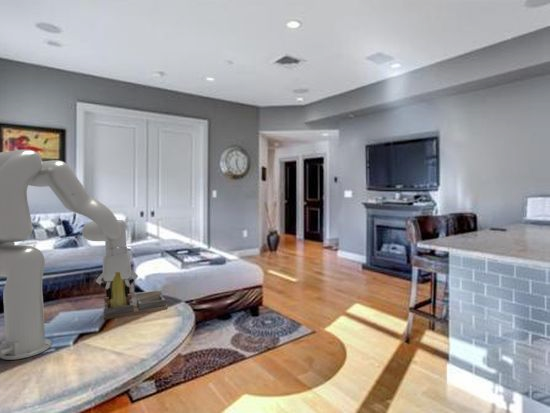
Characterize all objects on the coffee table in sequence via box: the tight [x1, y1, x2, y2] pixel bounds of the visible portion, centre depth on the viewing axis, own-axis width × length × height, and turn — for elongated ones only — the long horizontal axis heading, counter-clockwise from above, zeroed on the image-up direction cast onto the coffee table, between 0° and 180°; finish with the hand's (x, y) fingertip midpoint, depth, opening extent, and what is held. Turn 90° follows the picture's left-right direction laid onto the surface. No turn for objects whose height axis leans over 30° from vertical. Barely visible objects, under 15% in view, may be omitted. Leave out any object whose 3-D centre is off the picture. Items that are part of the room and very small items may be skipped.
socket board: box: [102, 289, 168, 320], centre depth 141 cm, size 12×23×6 cm, turn 117°
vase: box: [109, 272, 127, 308], centre depth 138 cm, size 6×6×14 cm
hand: (118, 296), depth 138 cm, fingers closed on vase, 5 cm apart
